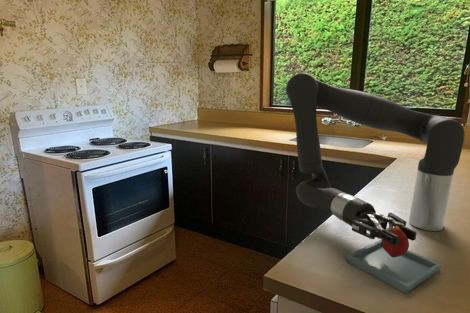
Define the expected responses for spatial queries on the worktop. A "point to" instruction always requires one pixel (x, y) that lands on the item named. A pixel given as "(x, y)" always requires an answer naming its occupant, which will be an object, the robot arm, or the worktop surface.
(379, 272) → the dish
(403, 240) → the onion
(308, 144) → the robot arm
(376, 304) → the worktop surface
